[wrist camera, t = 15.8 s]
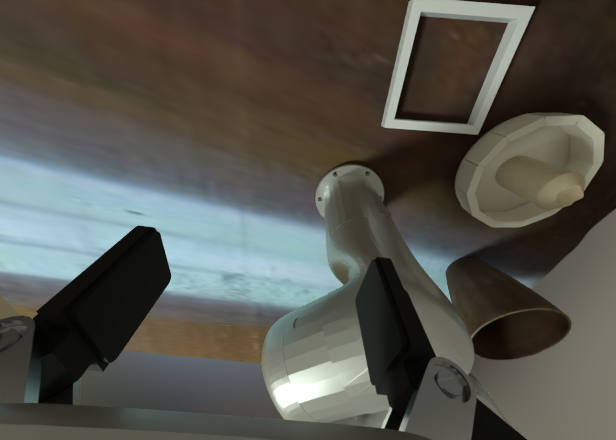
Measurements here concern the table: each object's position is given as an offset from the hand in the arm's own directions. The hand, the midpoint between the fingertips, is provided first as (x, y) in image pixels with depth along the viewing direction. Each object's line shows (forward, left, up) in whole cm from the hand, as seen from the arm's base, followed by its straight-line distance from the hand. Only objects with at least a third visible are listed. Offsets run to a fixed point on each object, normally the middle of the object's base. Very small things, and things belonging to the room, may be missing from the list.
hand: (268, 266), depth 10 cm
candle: (-23, -27, -30) cm, 47 cm away
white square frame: (-4, -21, -31) cm, 38 cm away
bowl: (-24, -27, -31) cm, 48 cm away
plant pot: (-44, -15, -31) cm, 56 cm away
